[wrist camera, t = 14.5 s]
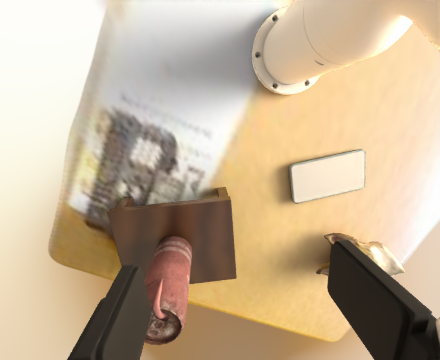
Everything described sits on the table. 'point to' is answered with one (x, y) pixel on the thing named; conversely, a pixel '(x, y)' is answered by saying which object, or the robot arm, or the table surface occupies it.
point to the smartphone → (327, 176)
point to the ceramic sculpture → (371, 249)
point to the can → (168, 289)
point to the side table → (178, 234)
